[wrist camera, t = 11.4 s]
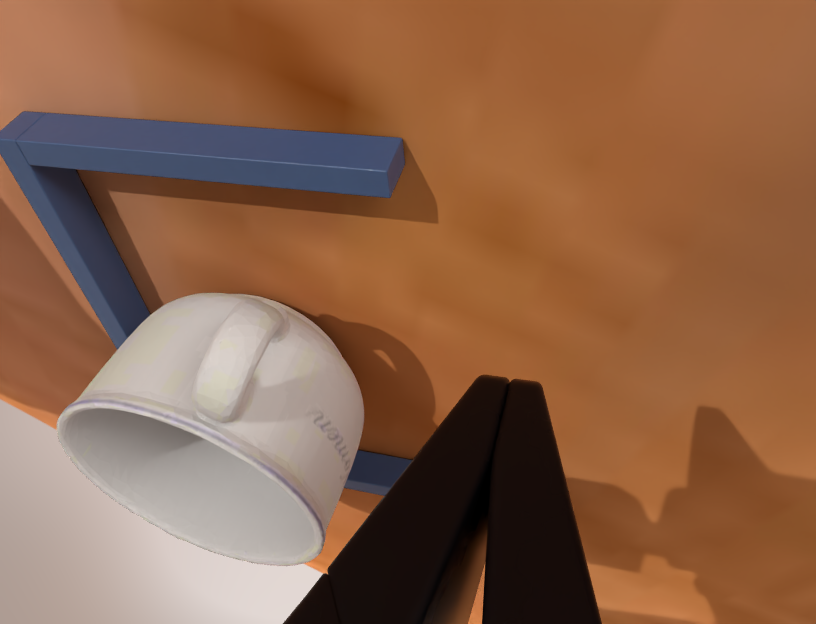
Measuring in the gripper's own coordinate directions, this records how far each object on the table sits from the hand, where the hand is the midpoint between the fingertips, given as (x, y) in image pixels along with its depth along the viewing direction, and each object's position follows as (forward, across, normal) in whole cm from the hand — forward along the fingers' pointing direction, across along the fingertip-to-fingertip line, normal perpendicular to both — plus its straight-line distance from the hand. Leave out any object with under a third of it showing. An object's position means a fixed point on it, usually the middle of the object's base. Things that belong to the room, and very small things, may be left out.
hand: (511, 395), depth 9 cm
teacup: (+12, +12, +13) cm, 22 cm away
